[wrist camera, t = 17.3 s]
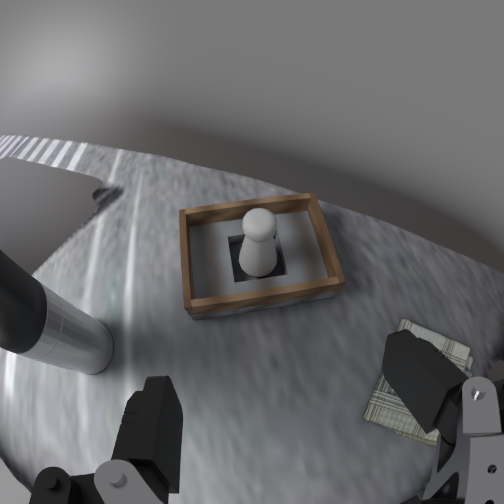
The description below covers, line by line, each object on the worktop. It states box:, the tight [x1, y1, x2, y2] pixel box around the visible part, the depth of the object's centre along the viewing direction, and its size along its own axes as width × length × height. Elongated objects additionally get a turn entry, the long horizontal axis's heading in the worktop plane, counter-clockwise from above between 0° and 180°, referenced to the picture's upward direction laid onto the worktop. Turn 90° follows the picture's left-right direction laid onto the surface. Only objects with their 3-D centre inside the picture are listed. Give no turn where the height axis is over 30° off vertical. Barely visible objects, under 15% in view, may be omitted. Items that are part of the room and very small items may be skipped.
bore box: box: [179, 193, 346, 320], centre depth 43 cm, size 22×16×6 cm
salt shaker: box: [239, 208, 277, 278], centre depth 40 cm, size 6×6×13 cm
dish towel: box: [362, 319, 473, 446], centre depth 34 cm, size 19×18×3 cm
